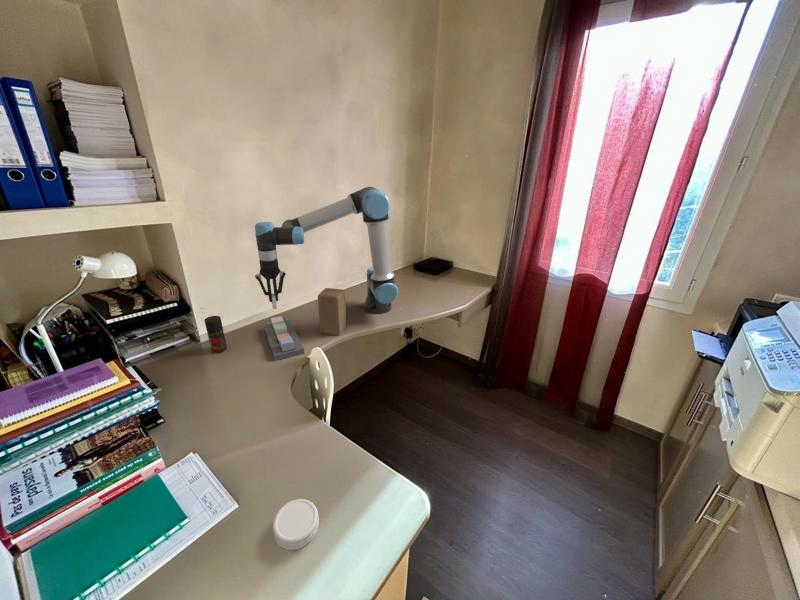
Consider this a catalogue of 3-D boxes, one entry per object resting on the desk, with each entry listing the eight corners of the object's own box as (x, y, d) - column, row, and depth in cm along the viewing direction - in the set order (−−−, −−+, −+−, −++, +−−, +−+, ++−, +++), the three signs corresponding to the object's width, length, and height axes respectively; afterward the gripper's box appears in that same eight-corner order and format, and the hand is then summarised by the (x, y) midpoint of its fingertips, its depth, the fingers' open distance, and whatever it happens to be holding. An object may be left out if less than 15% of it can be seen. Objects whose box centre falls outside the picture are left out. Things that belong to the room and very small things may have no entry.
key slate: (291, 343, 146) (291, 336, 145) (294, 348, 142) (293, 341, 141) (280, 346, 144) (279, 338, 143) (282, 351, 140) (281, 344, 139)
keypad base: (289, 324, 167) (289, 320, 166) (304, 353, 144) (303, 348, 143) (264, 329, 161) (263, 325, 160) (274, 360, 138) (274, 355, 137)
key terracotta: (288, 339, 153) (288, 332, 151) (291, 344, 149) (290, 337, 147) (277, 341, 150) (276, 335, 149) (279, 347, 146) (278, 340, 145)
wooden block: (339, 336, 157) (337, 297, 149) (319, 333, 159) (316, 295, 151) (347, 326, 166) (345, 288, 158) (328, 323, 168) (325, 286, 160)
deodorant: (208, 352, 143) (200, 320, 137) (219, 345, 148) (212, 314, 142) (219, 354, 141) (212, 323, 135) (230, 347, 146) (223, 317, 140)
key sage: (285, 329, 157) (284, 322, 156) (287, 333, 153) (286, 327, 152) (274, 331, 155) (273, 324, 154) (276, 336, 151) (275, 329, 150)
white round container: (265, 541, 76) (262, 531, 74) (292, 501, 84) (291, 492, 83) (302, 559, 73) (300, 549, 71) (327, 516, 81) (326, 506, 80)
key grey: (282, 322, 163) (281, 316, 161) (284, 327, 159) (283, 320, 158) (271, 324, 161) (270, 318, 159) (273, 329, 157) (272, 322, 155)
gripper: (282, 254, 152) (287, 302, 162) (251, 257, 146) (258, 306, 156) (285, 259, 146) (290, 308, 156) (253, 262, 140) (260, 313, 150)
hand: (274, 307), depth 156 cm, fingers closed
